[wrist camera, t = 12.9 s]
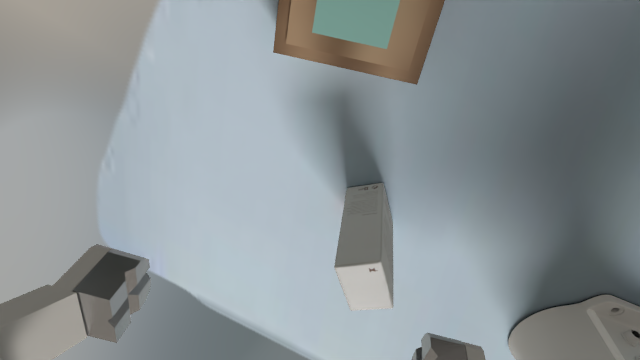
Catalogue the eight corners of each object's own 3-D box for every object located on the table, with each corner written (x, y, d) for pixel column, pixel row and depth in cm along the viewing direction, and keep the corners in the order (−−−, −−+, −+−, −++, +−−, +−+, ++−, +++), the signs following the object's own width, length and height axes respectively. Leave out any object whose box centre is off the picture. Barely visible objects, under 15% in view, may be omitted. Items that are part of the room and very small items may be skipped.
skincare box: (345, 187, 43) (332, 265, 33) (383, 181, 42) (382, 261, 32) (357, 228, 46) (349, 312, 36) (394, 224, 45) (395, 309, 35)
